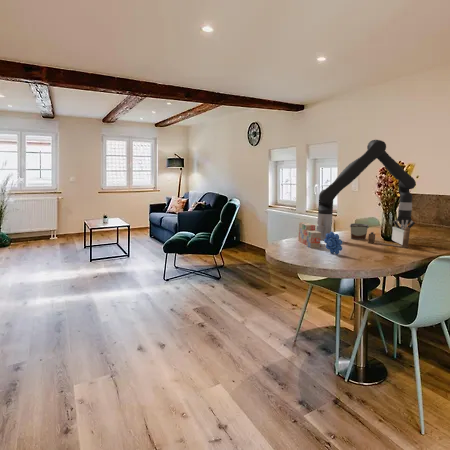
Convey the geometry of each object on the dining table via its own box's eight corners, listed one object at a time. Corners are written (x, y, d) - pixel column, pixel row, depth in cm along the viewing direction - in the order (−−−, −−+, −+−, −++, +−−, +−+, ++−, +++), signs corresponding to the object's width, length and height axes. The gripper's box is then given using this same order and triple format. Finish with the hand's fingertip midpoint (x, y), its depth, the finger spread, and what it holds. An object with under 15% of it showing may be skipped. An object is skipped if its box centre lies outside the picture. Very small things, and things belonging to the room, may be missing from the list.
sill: (400, 247, 209) (400, 246, 209) (374, 243, 220) (374, 242, 220) (402, 246, 212) (402, 245, 212) (377, 242, 223) (377, 241, 223)
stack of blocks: (320, 248, 203) (321, 227, 201) (309, 248, 202) (311, 227, 200) (307, 240, 224) (308, 222, 222) (297, 240, 223) (299, 222, 221)
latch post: (372, 243, 219) (373, 232, 218) (367, 243, 221) (368, 232, 220) (374, 243, 221) (375, 232, 220) (370, 242, 223) (371, 231, 222)
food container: (365, 237, 239) (366, 223, 237) (367, 239, 233) (369, 225, 231) (346, 237, 240) (347, 223, 238) (348, 238, 234) (350, 224, 232)
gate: (405, 245, 211) (407, 231, 210) (402, 245, 211) (403, 231, 210) (394, 239, 229) (395, 226, 227) (391, 239, 229) (392, 226, 227)
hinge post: (407, 248, 207) (409, 227, 205) (401, 247, 209) (403, 226, 207) (408, 247, 209) (411, 226, 207) (403, 246, 211) (405, 226, 209)
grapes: (318, 252, 191) (320, 231, 189) (326, 250, 195) (327, 230, 193) (336, 256, 182) (338, 234, 180) (344, 255, 186) (346, 233, 184)
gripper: (395, 209, 220) (392, 236, 222) (418, 210, 216) (415, 237, 219) (392, 208, 227) (390, 234, 229) (415, 209, 223) (412, 235, 226)
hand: (402, 235), depth 224 cm, fingers closed
